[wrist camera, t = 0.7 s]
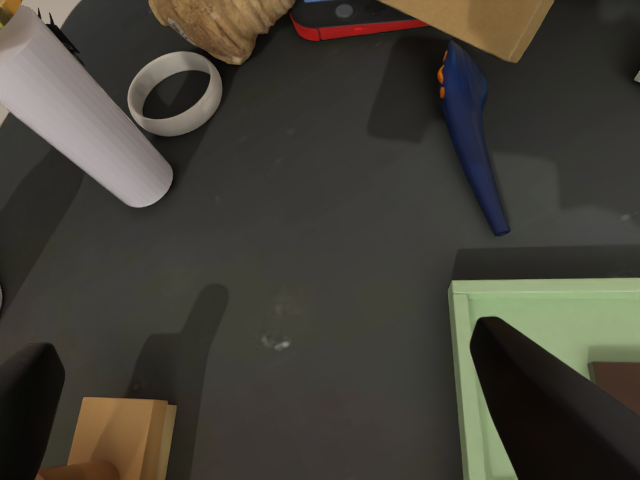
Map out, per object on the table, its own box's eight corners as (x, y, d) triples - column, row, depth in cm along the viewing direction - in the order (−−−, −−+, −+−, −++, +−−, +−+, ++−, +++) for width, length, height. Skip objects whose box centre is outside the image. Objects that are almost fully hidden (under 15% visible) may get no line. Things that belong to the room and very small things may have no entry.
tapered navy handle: (519, 239, 27) (539, 224, 25) (467, 243, 27) (482, 228, 25) (467, 53, 33) (479, 27, 30) (423, 54, 32) (432, 28, 30)
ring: (123, 103, 37) (109, 86, 36) (196, 52, 38) (186, 34, 37) (163, 156, 34) (150, 141, 32) (242, 99, 35) (234, 82, 33)
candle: (191, 201, 32) (-80, -89, 14) (122, 230, 32) (-240, -21, 14) (176, 145, 34) (-71, -163, 16) (112, 172, 34) (-207, -105, 16)
